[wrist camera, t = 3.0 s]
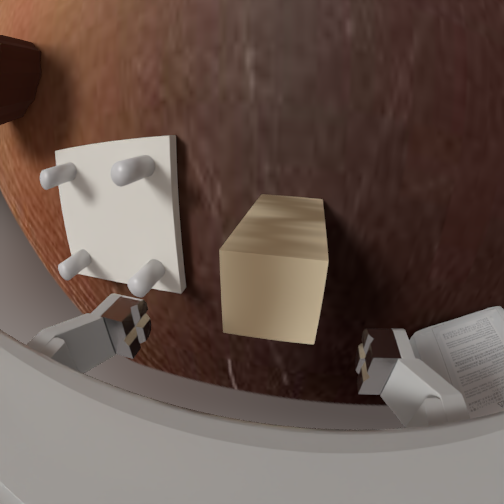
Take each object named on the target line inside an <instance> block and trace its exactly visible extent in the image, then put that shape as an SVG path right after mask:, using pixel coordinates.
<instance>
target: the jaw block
mask: <svg viewBox="0 0 504 504" xmlns="http://www.w3.org/2000/svg"><path fill="white" fill-rule="evenodd" d="M219 253H220V278H221V300H222V319H223V332H224V333H230V334H236V335H243V336H249V337H256V338H263V339H271V340H278V341H286V342H295V343H304V344H313V345H314V342H315V337H316V332H317V327H318V322H319V317H320V311H321V306H322V300H323V294H324V288H325V282H326V275H327V269H328V262H329V259H328V247H327V236H326V225H325V216H324V206H323V199H313V198H303V197H291V196H279V195H265V194H261V196H260V197H259V198H258V200H257V201H256V202H255V204H254V205H253V206H252V207H251V209H250V210H249V211H248V213H247V214H246V215H245V217H244V218H243V219H242V221H241V222H240V223H239V225H238V226H237V227H236V228H235V230H234V231H233V232H232V234H231V235H230V236H229V238H228V239H227V240H226V242H225V243H224V244H223V246H222V247H221V248H220V250H219Z"/></svg>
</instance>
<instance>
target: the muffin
mask: <svg viewBox="0 0 504 504" xmlns="http://www.w3.org/2000/svg"><path fill="white" fill-rule="evenodd" d="M40 57H41V51H39V50H38V49H36V48H35V46H34V45H33V43H31V42H27V41H24V40H20V39H16V38H12V37H8V36H3V35H0V125H1V124H4V123H7V122H9V121H12V120H15V119H18V118H21V117H23V115H24V114H25V112H26V110H27V108H28V107H29V105H30V104H31V103H32V102H33V100H34V99H35V94H36V89H37V85H38V82H39V79H40V76H41V65H40Z"/></svg>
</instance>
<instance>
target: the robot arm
mask: <svg viewBox="0 0 504 504" xmlns="http://www.w3.org/2000/svg"><path fill="white" fill-rule="evenodd" d="M147 310H148V307H147V303H146V302H145V301H144V300H141V299H137V298H132V297H128V296H123V295H119V294H111V295H110V296H108V297H107V298H106V299H105V300H104V301H103V302H102V303H101V304H100V305H99V306H98V307H97V308H96V309H95V310H94V311H93V312H92V313H91V314H89V313H87V314H84V315H81V316H79V317H76V318H73V319H70V320H68V321H65V322H62V323H59V324H57V325H54V326H51V327H48V328H45V329H43V330H41V331H40V332H39V333H38V334H37V335H36V336H35V337H34V338H33V339H32V340H31V341H30V342H29V343H28V344H27V345H25V344H23V343H22V342H19V341H18V340H16V339H15V338H13V337H11V336H10V335H8V334H7V333H5V332H3V331H2V330H0V504H504V411H501V412H497V413H493V414H489V415H485V416H481V417H476V418H471V419H470V416H469V413H468V410H467V407H466V404H465V401H464V398H463V396H462V394H461V393H460V392H459V391H458V390H457V389H455V388H454V387H453V386H452V385H451V384H449V383H448V382H447V381H446V380H445V379H443V378H442V377H441V376H440V375H439V374H437V373H436V372H435V371H434V370H432V369H431V368H430V367H429V366H428V365H426V364H425V363H424V362H423V361H421V360H420V359H416V358H415V355H414V352H413V350H412V347H411V344H410V341H409V339H408V336H407V333H406V331H405V330H404V329H378V328H365V329H364V330H363V333H362V336H361V338H362V344H360V345H359V346H358V349H357V352H356V358H355V369H356V372H357V373H358V374H359V375H358V378H357V388H358V394H371V395H380V396H381V397H382V399H383V400H384V401H385V403H386V404H387V405H388V407H389V408H390V409H391V410H392V412H393V413H394V414H395V415H396V417H397V418H398V419H399V421H400V422H401V423H402V425H403V426H404V427H405V428H396V429H372V430H339V429H316V428H301V427H290V426H281V425H272V424H265V423H258V422H251V421H245V420H239V419H233V418H227V417H222V416H217V415H213V414H208V413H204V412H199V411H195V410H191V409H187V408H183V407H179V406H176V405H172V404H168V403H164V402H161V401H158V400H154V399H151V398H148V397H145V396H142V395H139V394H136V393H133V392H130V391H127V390H124V389H121V388H119V387H116V386H113V385H111V384H108V383H105V382H103V381H100V380H98V379H95V378H93V377H91V376H88V375H86V374H84V373H86V372H87V371H89V370H91V369H92V368H94V367H96V366H97V365H99V364H101V363H103V362H104V361H106V360H108V359H109V358H111V357H113V356H115V354H118V355H121V356H125V357H128V358H132V359H133V358H134V357H135V355H136V354H137V353H138V351H139V350H140V348H141V346H140V343H142V342H144V341H146V340H147V338H148V337H149V335H150V331H151V321H150V318H149V317H148V315H147V314H146V312H147Z"/></svg>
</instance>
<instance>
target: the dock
mask: <svg viewBox="0 0 504 504" xmlns="http://www.w3.org/2000/svg"><path fill="white" fill-rule="evenodd" d="M55 158H56V166H54V167H51V168H48V169H45V170H43V171H42V172H41V174H40V183H41V185H42V187H43V188H44V189H46V190H47V189H50V188H53V187H55V186H59V193H60V200H61V206H62V212H63V218H64V223H65V228H66V233H67V238H68V242H69V247H70V251H71V255H72V256H71V257H69V258H68V259H66V260H65V261H63V262H62V263H61V264H59V266H58V270H59V273H60V275H61V276H62V277H63V278H64V279H65V280H70V279H71V278H72V277H74V276H75V275H76V274H77V273H78V274H82V275H87V276H91V277H96V278H101V279H106V280H110V281H115V282H120V283H126V284H128V288H129V290H130V291H131V293H132V294H134V295H135V296H137V297H144V296H145V295H146V294H147V293H148V292H149V290H150V289H151V288H152V289H158V290H163V291H169V292H175V293H181V294H182V292H183V291H184V290H185V288H186V280H185V271H184V261H183V251H182V239H181V227H180V213H179V198H178V179H177V153H176V135H169V136H155V137H144V138H134V139H125V140H117V141H109V142H102V143H95V144H89V145H83V146H77V147H71V148H66V149H61V150H57V151H55Z"/></svg>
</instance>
